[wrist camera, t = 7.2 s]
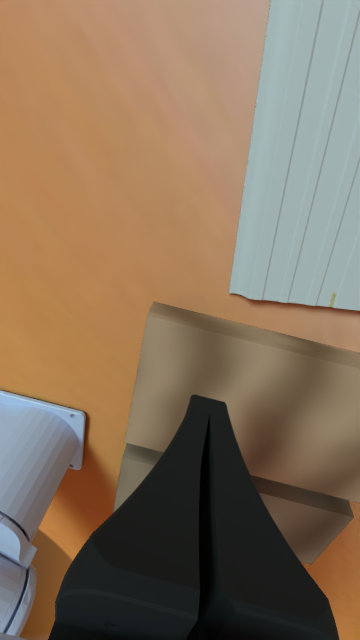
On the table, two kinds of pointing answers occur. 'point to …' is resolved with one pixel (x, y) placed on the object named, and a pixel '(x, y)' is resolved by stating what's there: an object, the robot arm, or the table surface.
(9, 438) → the robot arm
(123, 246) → the table surface
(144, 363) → the plank
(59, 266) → the table surface
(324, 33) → the baseboard
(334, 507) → the floor panel
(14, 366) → the table surface
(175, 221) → the table surface
